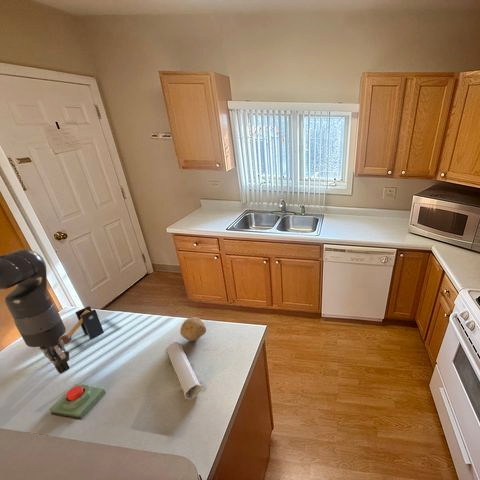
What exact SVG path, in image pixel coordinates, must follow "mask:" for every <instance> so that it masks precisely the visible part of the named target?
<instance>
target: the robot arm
mask: <svg viewBox="0 0 480 480" xmlns="http://www.w3.org/2000/svg"><path fill="white" fill-rule="evenodd" d="M47 272H48V271H47V265H46V261H45V260H44V258H43V257H42V256H41V255H40V254H39V253H38V252H36V251H34V250H32V249H29V248H20V249H17V250H14V251H11V252H8V253H6V254H3V255H0V291H1V290H8V289H10V288H12V287H13V288H14V289H12V290H11V291H9V292H8V294H6V296H5V297H4V303H5V306H6V307H7V309H8V310H9V312H10V314H11V317H12V318H13V322H14V325H15V327H16V329H17V331H18V333H19V335H20V336H21V338H22V340H23V341H24V343H25V345H26V346H27V347H29V348H38V349H39V350H40V351H41V352H42V353H43V355H44V357H46V358H47V359H48V361H50V363H52V364H53V366H54V368H55V370H56V372H57V373H59V374H61V375H62V374H63V373H65V372H67V371H69V370H70V365H69V364H68V361H69V360H70V352H69V351H68V350H66V348H65V345H64V342H63V341H62V340H59V339H60V338H61V337H62V336H64V335H65V334H66V332H67V331H66V330H67V328H66V326H65V324H64V322H63V319H62V318H61V316H60V313H59V311H58V309H57V307H56V306H55V305H54V303H53V301H52V299H51V297H50V294H49V292H48V283H47V282H48V276H47V275H48V273H47Z"/></svg>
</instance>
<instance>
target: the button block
mask: <svg viewBox="0 0 480 480" xmlns="http://www.w3.org/2000/svg"><path fill="white" fill-rule="evenodd" d="M76 386H81V387H82V388H83V390H84V393H83V395H82V396H81V397H80V398H78V399H76V400H74V401H69V400H68V398H67V396H66V394H67V392H65V393H64V394H63V395H62V396H61V397H60V398H59V399H57V400H56V401H55V402H54V403H53V404H52V406H50V407H49V409H48V410H49V411H50V413H51V414H53V415H57V416H58V415H59V416H63V417H69V418H75V419H81V420H82V419H83V418H84V417H85V416H86V415H87V414H88V413H89V412H90V411H91V410H92V409H93V408H94V407H95V406H96V404H98V402H99V401H101V400H102V398H103V397H104V396H105V395H106V394H107V392H106V390H105V388H102V387H95V386H90V385H89V384H84V383H83V384H79V383H76V384H75V385H73V386H72V387H71V388H70V389H72V388H74V387H76Z"/></svg>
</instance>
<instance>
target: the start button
mask: <svg viewBox="0 0 480 480" xmlns="http://www.w3.org/2000/svg"><path fill="white" fill-rule="evenodd" d="M73 387H74V386H73ZM71 388H72V387H71ZM71 388H70V389H69V390H67V392H66V393H67V394H66V393H65V394H66V396H67V398H68V400H69V401H74V400H76V399H78V398H80V397H81V396H82V395H83V393H84V390H83V388H82V387H81V386H76V387H74V388H72V389H71Z"/></svg>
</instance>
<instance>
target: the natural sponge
mask: <svg viewBox="0 0 480 480" xmlns="http://www.w3.org/2000/svg"><path fill="white" fill-rule="evenodd" d="M206 332H207V327H206V325H205V323H204V322H203V320H202V319H201V318H199V317H196V316H192V317H188V318H187V319H186V320H184V322H182V324H181V326H180V331H179V333H180V335H181V337H183V338H184V339H185V340H187V341H190V342H195V341H197V340H199V338H201V337H203V336H204V335H205V334H206Z"/></svg>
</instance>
